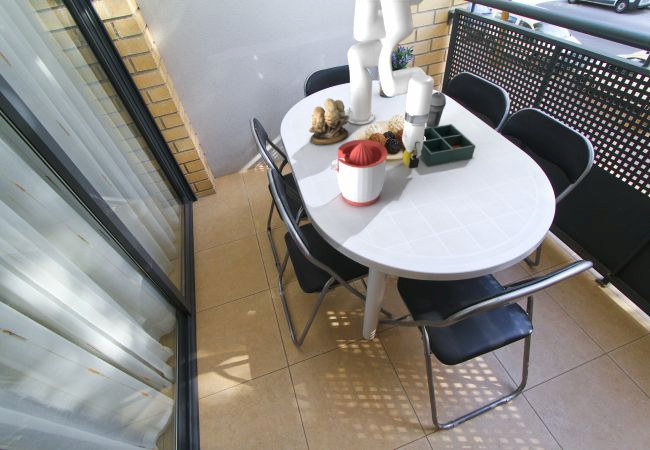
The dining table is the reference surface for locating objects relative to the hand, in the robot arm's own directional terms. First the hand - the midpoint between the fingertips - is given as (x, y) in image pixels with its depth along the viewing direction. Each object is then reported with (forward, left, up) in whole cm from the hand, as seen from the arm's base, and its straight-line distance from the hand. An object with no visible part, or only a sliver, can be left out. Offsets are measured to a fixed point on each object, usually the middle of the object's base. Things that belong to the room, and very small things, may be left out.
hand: (410, 160), depth 116 cm
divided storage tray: (+14, +9, -3) cm, 17 cm away
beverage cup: (+16, +26, -3) cm, 31 cm away
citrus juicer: (-21, -15, -3) cm, 26 cm away
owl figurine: (-28, +26, -3) cm, 38 cm away
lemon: (0, 0, -3) cm, 3 cm away
